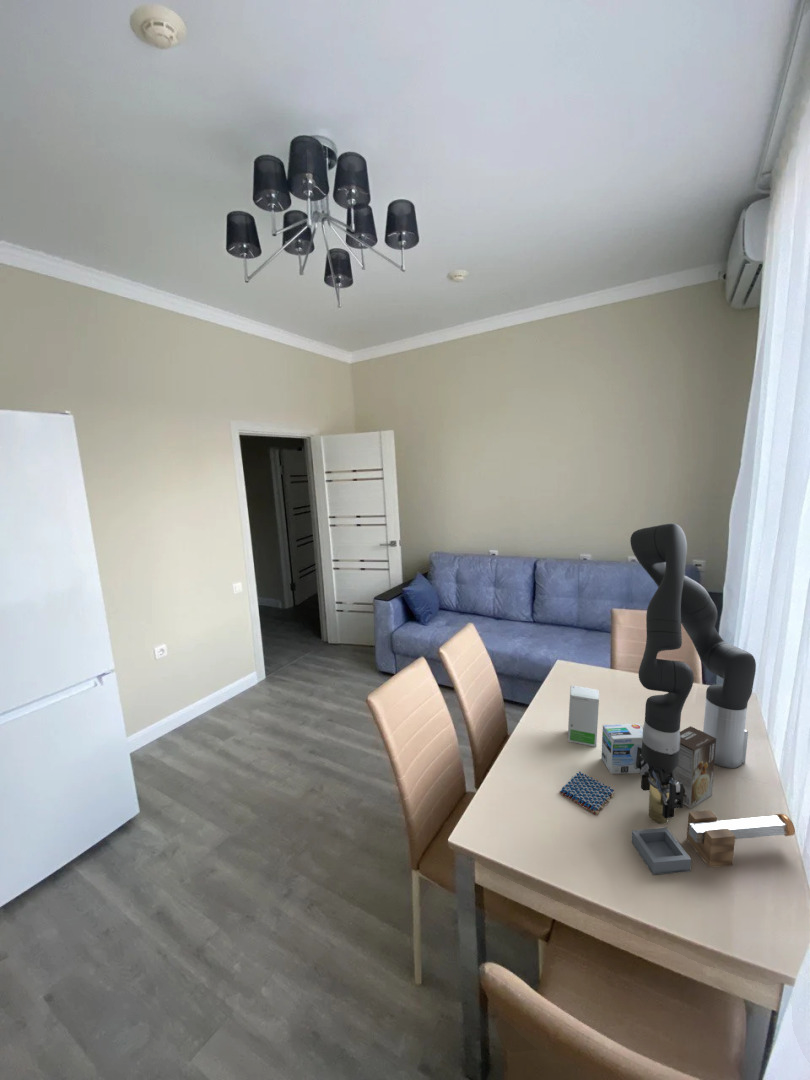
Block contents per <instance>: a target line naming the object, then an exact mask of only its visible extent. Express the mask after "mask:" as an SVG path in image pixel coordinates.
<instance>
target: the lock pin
mask: <svg viewBox="0 0 810 1080" xmlns="http://www.w3.org/2000/svg"><path fill="white" fill-rule="evenodd" d="M726 828H728V829H729V830H730V831H731V832H732V833H733V834H734V835H735V840H742V839H753V838H763V837H765V838H766V837H773V836H774V837H776V836H785V837H792V836H794V835H795V834H796V829H795V825H794V824H793V822H792V820H791V819H790V817H788V816H787V815H786V814H784V813H776V814H774V815H769V816H757V817H756V816H755V817H746V818H736V819H725V820H724V819H723V820H717V821H712V822H701V823H690V824H689V834H690V836H691V837H692V838H693V839H694V840H695V842H696V843H700V842H704V836H705V830H715V829H726Z"/></svg>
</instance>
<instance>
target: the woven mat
mask: <svg viewBox="0 0 810 1080" xmlns="http://www.w3.org/2000/svg"><path fill="white" fill-rule="evenodd" d="M559 793H560V795H562V796H563V797H565V798H567V799H569V800H570V801H573V802H574V803H576V804H578V805H579V806H581V807H582V808H584V809H586V810H588V811H589V812H591V813H593V815H599V814H600V812H601V810H604V806H607V805H608V803H610V800H611V798H613V797H615V790H614V789H613V788H611V787H610V786H607V785H605V783H602V782H599V780H596V779H593V777H590V776H588V775H587V774H586V773H585V774H584V773H583V772H581V771H580V770H579V771H578V772H575V775H574V776H572V777H571V779H570V780H568V782H567V783H565V785H564V786H562V787H561V789H560V790H559Z"/></svg>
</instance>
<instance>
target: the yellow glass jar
mask: <svg viewBox="0 0 810 1080" xmlns="http://www.w3.org/2000/svg"><path fill="white" fill-rule="evenodd" d="M648 781H649V783H650V790H649V794H648V796H649V798H648V817H649V818H650V820H651V821H652V822H654V823H655V824H659V825H660V824H661V825H665V824H666V823H668V820H669V818H664V817H663V815H662V812H663V802H664V801H663V797H662V794H661V793H660V792H659V791H658V787H657V784H656V781H655V780H654V779H653V778H652V777H651V776H650V775H649V776H648ZM668 786H669V784H668V785H666V786H662V787H663V789H669V788H668ZM666 795H667V798H668V799H669V793H666Z"/></svg>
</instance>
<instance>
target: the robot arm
mask: <svg viewBox="0 0 810 1080" xmlns="http://www.w3.org/2000/svg"><path fill="white" fill-rule="evenodd" d="M629 540H630V542H629V543H630V547H631V550H632V552H633V555H634V557H635V558H636V560H637V561H638V562H639V564H640V566H642V568H643V569H644V571H646V573H647V575H648V576H649V577H650V578H651V579H652V580H653V581H654V583H655V585H656V586H657V588H656V590H655V592H654V594H653V596H652V597H651V599H650V601H649V603H648V606H647V609H646V614H645V615H646V616H645V617H646V618H645V619H646V620H645V621H646V624H645V625H646V638H645V639H646V641H645V649H644V652H643V655H642V659H641V661H640V665H639V669H638V680H639V682H640V684H641V686H642V687H643V688H645V689H646V690H650V691H656V692H663V693H664V692H665V693H664V694H657V695H656V694H655V695H652V696H651V695H650V696H649V697H647V699H646V700H645V708H644V709H645V710H644V712H645V713H644V721H643V725H642V726H643V727H642V728H643V736H642V747H638V748H637V758H636V767H637V768H639V769H640V773H639V775H640V776H641V779H640V788H641V790H642V791H645V792H646V791H649V792H650V783H649V781H648V776H649V775H650V776H651V777H652V778H653V779H654V780H655V781H656V784H657V787H658V791H659V792H660V793H661V794H662V797H663V801H664V802H663V812H662V815H663V817H664V818H668V819H672V818H675V810H676V809H683V807H684V804H683V789H684V786H683V784H682V782H677V781H676V780H675V779H674V775H673V770H674V769H675V768H676V767H677V766H678V763H679V750H680V732H681V717H682V711H683V708H684V706H685V703H686V701H687V699H688V697H689V694H690V692H691V691H692V688H693V685H694V679H695V677H694V673H693V669H692V668H691V666H690V665H689V664H688V663H686V662H683V661H680V660H671V659H670V660H669V659H664V658H663V659H661V658H657V657H658V654H659V653H661V652H665V651H674V650H675V651H676V650H679V649H680V648H682V644H683V639H682V638H683V637H682V634H683V633H682V627H683V629H684V630H685V632H686V634H687V635H688V637H689V638H690V639H691V641H692V643H693V646H694V648H695V650H696V653H697V655H698V657H699V660H700V662H701V664H702V665H703V666H704V667H705V669H707V670H708V671H709V672H710V673H712V674H714V675H716V676H718V677H720V678H722V679H723V683H717V684H711V685H709V686H707V688H706V693H705V701H704V702H705V703H704V704H705V705H704V716H703V717H704V718H703V729H702V732H704V733H706V734H708V735H710V736H712V737H715V738H716V749H715V762H714V765H717V766H720V767H723V768H727V769H728V768H729V769H733V768H738V767H740V766H741V765H742V764H745V763H746V759H747V758H746V757H747V747H748V738H749V730H747V729H746V724H747V723H746V721H747V710H748V703H749V700H750V699H751V696H752V694H753V689H754V687H753V686H754V683H755V682H754V681H755V676H756V672H757V671H756V670H757V662H756V659H755V657H754V655H753V654H751V653H750V652H749V651H747V650H744V649H742V648H739V647H737V646H735V645H733V644H730V643H728V642H727V641H725V640H724V638H722V637H721V635H720V633H719V631H717V629H716V624H717V620H718V609H717V606H716V604H715V602H714V601H713V599H712V597H711V596H710V594H709V592H708V591H707V590H706V588H705V587H704V586H702V585H701V584H700V583H699V582H697V581H696V580H694V579H692V578H690V577H689V576H687V575H686V574H685V572H686V564H687V557H688V556H687V555H688V543H687V537H686V534H685V532H684V530H683V528H682V527H681V526H680V525H678V524H676V523H673V522H672V523H664V524H659V525H653V526H650V527H645V528H640V529H637V530H634V531H633V533H631V535H630V539H629ZM641 761H644V762H643V763H641ZM668 784H669V786H668V788H669V789H663V787H662V786H666V785H668ZM666 793H669V799H668V798H667V795H666Z"/></svg>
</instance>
